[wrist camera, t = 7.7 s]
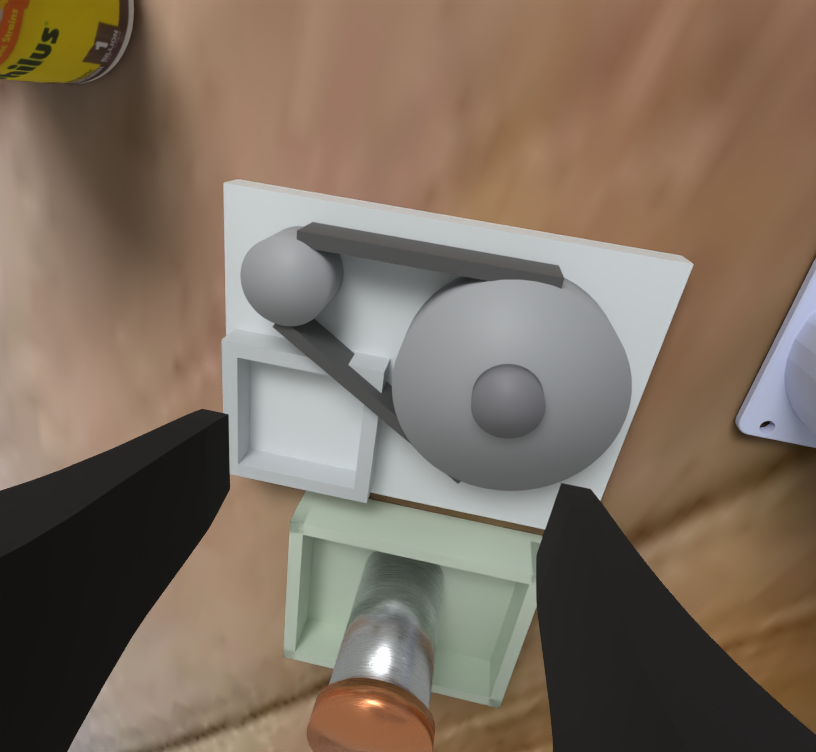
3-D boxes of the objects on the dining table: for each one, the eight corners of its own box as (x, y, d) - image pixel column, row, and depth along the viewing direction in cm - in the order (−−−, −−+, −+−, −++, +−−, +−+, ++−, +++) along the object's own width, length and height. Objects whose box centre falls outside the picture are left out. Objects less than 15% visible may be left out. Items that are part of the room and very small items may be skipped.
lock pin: (440, 537, 25) (417, 706, 18) (457, 607, 26) (443, 787, 19) (348, 543, 26) (290, 704, 19) (371, 610, 27) (326, 781, 20)
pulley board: (681, 256, 18) (727, 288, 15) (581, 519, 24) (596, 590, 20) (238, 179, 19) (180, 192, 16) (240, 447, 25) (197, 502, 21)
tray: (542, 535, 24) (547, 577, 22) (499, 662, 28) (499, 708, 26) (308, 485, 25) (290, 521, 23) (299, 616, 29) (283, 656, 27)
